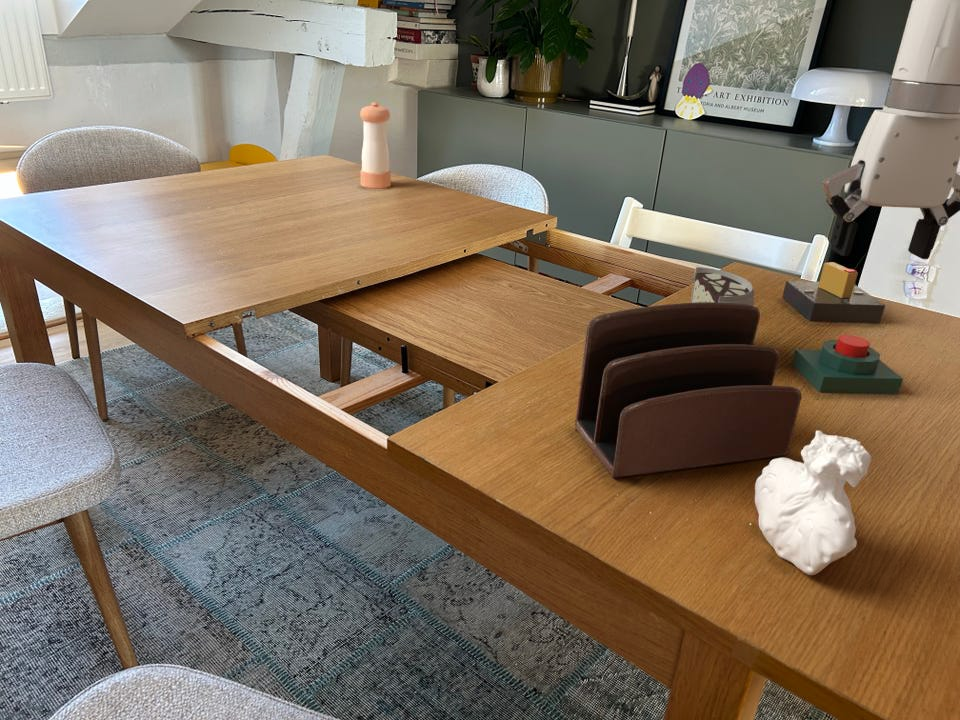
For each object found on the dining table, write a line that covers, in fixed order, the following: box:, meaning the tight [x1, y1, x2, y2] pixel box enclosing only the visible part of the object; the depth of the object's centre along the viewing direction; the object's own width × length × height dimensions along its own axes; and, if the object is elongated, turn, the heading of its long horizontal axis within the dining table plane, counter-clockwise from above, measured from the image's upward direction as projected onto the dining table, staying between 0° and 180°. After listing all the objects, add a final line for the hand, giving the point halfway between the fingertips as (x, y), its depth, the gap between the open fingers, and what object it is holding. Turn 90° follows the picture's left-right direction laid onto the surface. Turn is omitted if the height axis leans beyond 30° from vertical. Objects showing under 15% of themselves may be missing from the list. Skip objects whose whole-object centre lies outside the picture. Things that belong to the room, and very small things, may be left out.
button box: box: [791, 339, 904, 395], centre depth 92 cm, size 10×8×4 cm
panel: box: [781, 280, 886, 324], centre depth 115 cm, size 11×10×3 cm
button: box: [835, 334, 871, 358], centre depth 91 cm, size 4×4×2 cm
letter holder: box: [574, 302, 802, 479], centre depth 74 cm, size 10×20×14 cm, turn 106°
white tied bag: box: [754, 429, 872, 576], centre depth 61 cm, size 12×8×11 cm
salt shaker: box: [359, 101, 392, 189], centre depth 175 cm, size 7×7×19 cm
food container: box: [690, 266, 755, 307], centre depth 96 cm, size 12×6×10 cm, turn 179°
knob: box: [818, 261, 859, 298], centre depth 113 cm, size 5×2×4 cm, turn 17°
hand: (878, 254), depth 86 cm, fingers open, 9 cm apart
